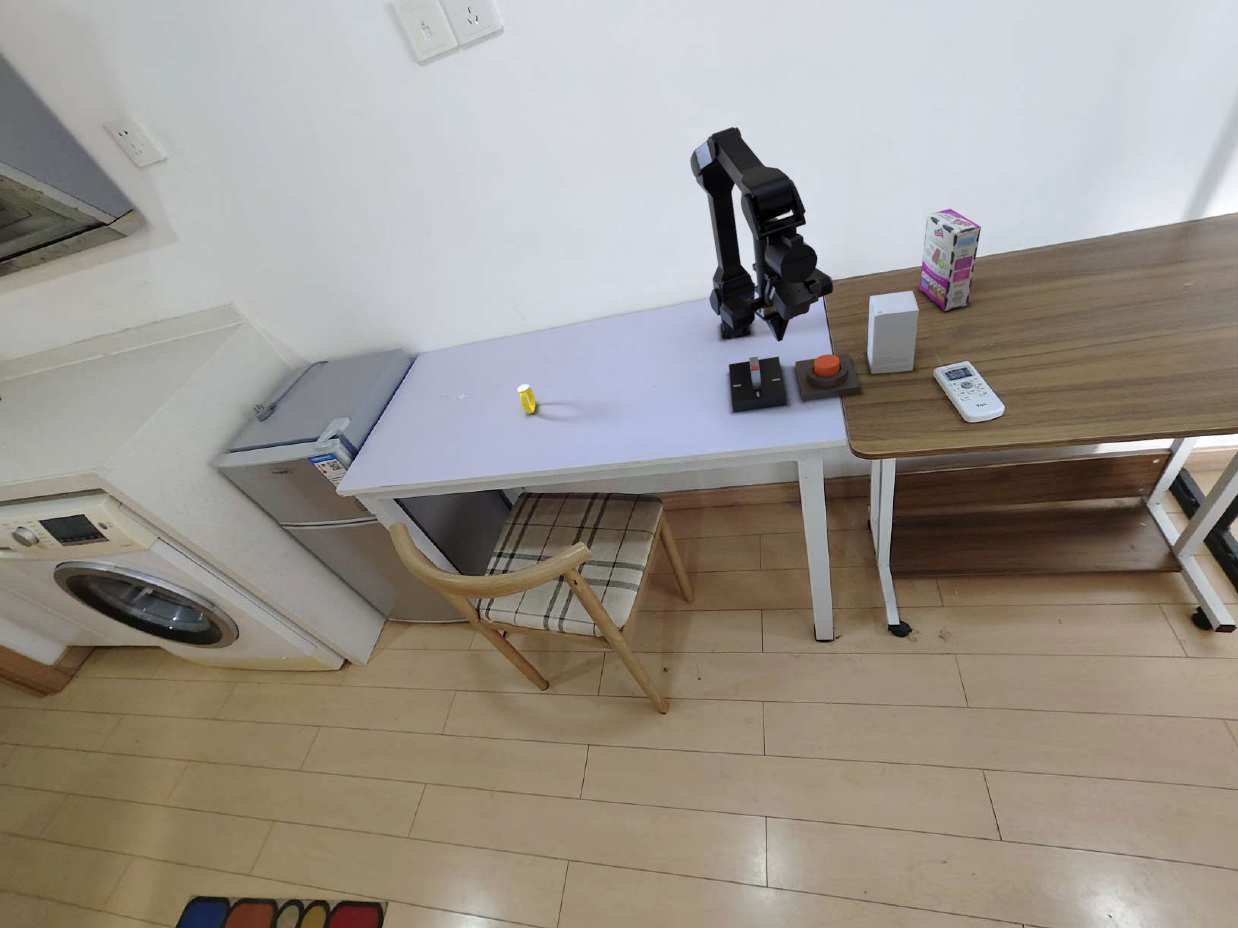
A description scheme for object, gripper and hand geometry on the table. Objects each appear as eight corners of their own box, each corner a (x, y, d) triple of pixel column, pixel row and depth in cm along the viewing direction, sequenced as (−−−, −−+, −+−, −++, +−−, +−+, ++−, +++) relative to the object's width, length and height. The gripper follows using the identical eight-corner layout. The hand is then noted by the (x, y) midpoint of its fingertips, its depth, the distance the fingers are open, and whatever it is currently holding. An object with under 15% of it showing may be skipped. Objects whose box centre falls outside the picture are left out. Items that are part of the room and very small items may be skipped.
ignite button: (812, 365, 111) (812, 356, 109) (837, 361, 110) (837, 352, 108) (816, 378, 107) (816, 369, 106) (841, 375, 106) (841, 366, 105)
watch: (536, 416, 127) (527, 394, 123) (524, 418, 127) (515, 397, 124) (539, 400, 131) (530, 379, 128) (528, 402, 132) (518, 381, 128)
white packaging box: (913, 371, 107) (920, 310, 99) (870, 374, 109) (872, 315, 101) (908, 349, 112) (913, 289, 104) (866, 352, 114) (869, 294, 106)
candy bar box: (969, 306, 117) (983, 226, 106) (944, 312, 117) (955, 233, 107) (941, 283, 125) (951, 206, 115) (918, 289, 126) (925, 214, 115)
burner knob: (751, 376, 114) (749, 356, 111) (759, 375, 113) (757, 355, 110) (753, 390, 110) (750, 370, 107) (761, 389, 110) (759, 369, 107)
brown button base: (795, 368, 116) (794, 353, 114) (848, 360, 114) (848, 345, 112) (803, 401, 108) (802, 386, 106) (859, 393, 106) (860, 378, 104)
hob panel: (730, 374, 120) (728, 363, 119) (779, 366, 118) (778, 355, 116) (733, 412, 111) (731, 402, 109) (786, 405, 109) (786, 394, 107)
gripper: (742, 297, 88) (752, 380, 99) (853, 255, 89) (851, 341, 100) (713, 272, 97) (724, 351, 107) (814, 233, 98) (816, 315, 108)
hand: (779, 340), depth 105 cm, fingers closed
